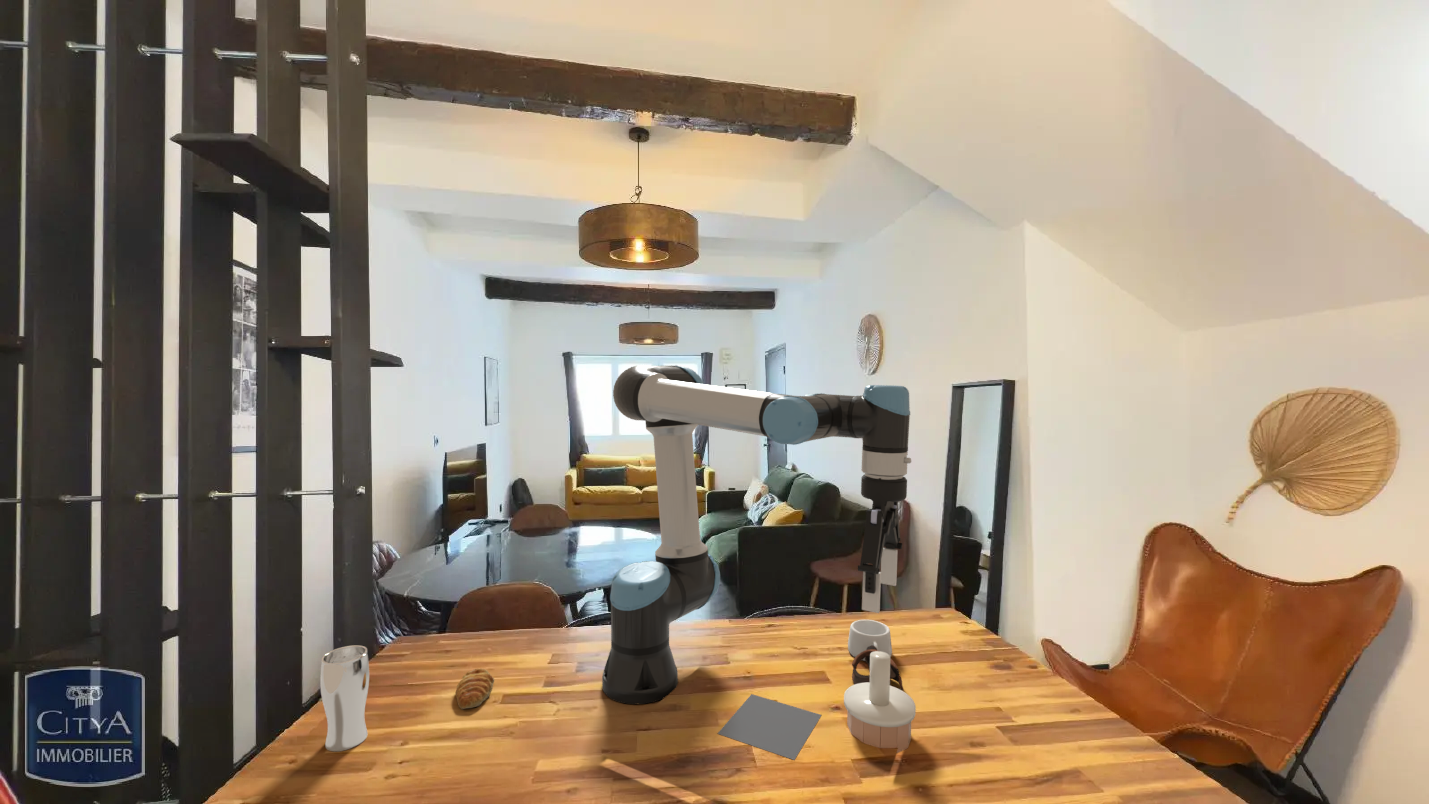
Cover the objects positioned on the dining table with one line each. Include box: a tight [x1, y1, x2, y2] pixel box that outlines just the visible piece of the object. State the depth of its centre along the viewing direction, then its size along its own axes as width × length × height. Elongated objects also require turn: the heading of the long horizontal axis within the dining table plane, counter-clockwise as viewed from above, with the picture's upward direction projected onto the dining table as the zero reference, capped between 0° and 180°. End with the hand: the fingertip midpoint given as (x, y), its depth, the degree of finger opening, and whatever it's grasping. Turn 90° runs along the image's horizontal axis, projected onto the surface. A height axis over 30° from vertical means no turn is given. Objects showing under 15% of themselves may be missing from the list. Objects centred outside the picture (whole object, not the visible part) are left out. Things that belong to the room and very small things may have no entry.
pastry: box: [455, 668, 495, 710], centre depth 111 cm, size 9×7×4 cm
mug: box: [847, 619, 893, 662], centre depth 129 cm, size 12×10×6 cm
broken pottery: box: [851, 645, 904, 692], centre depth 117 cm, size 12×10×8 cm
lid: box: [843, 651, 917, 727], centre depth 100 cm, size 12×12×9 cm
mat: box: [717, 693, 823, 761], centre depth 102 cm, size 14×14×1 cm
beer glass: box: [319, 644, 370, 752], centre depth 98 cm, size 7×7×15 cm
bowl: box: [846, 711, 912, 754], centre depth 101 cm, size 10×10×5 cm
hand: (880, 596), depth 100 cm, fingers open, 13 cm apart
